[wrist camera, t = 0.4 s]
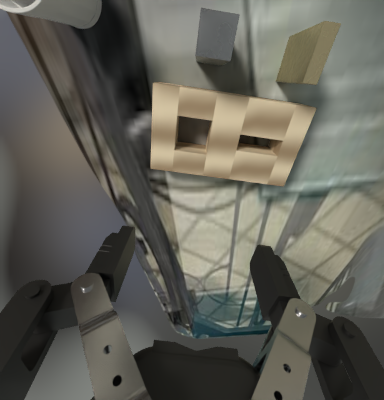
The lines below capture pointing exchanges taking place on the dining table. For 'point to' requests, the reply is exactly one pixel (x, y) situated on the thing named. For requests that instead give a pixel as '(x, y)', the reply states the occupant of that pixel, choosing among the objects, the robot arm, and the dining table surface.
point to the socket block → (227, 134)
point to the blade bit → (307, 54)
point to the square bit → (216, 36)
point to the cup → (58, 10)
